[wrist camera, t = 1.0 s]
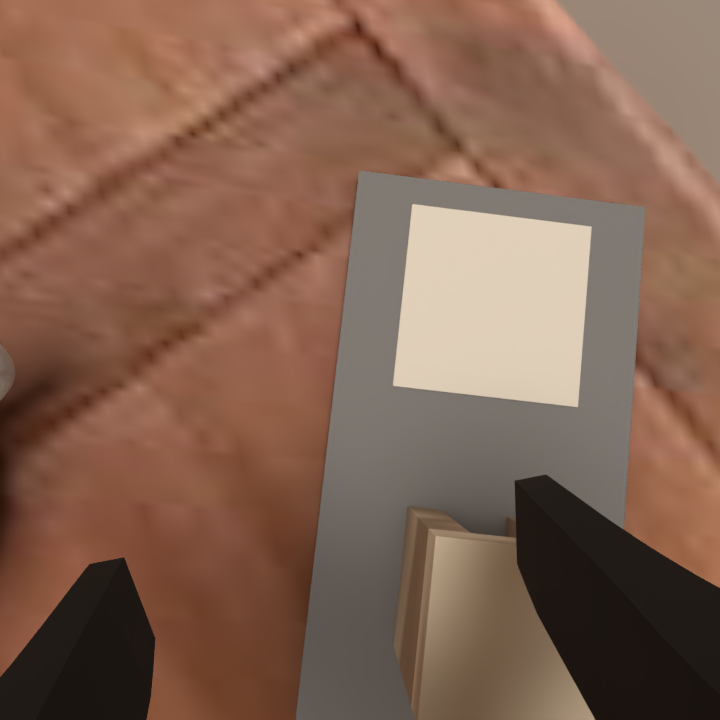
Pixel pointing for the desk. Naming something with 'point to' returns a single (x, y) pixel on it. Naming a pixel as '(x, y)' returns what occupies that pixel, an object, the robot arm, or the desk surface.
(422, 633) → the tan u-shaped block
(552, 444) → the board
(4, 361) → the teacup
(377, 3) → the desk surface
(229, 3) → the desk surface
